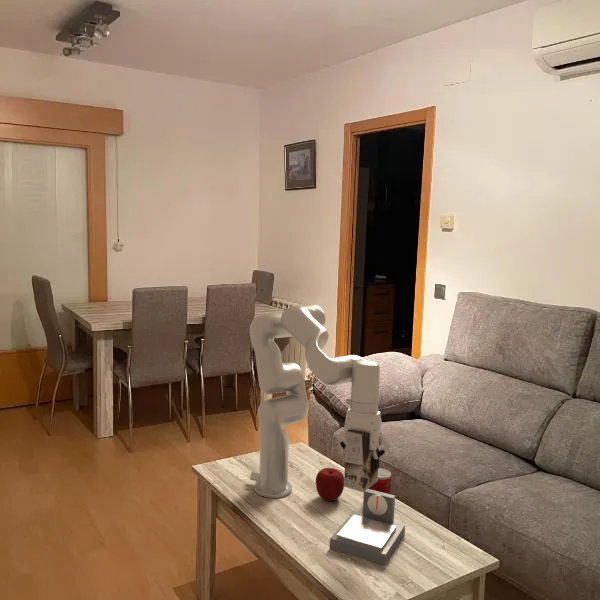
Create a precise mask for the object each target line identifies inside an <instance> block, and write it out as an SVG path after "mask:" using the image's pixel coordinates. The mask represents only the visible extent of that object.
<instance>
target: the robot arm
mask: <svg viewBox="0 0 600 600" xmlns="http://www.w3.org/2000/svg"><path fill="white" fill-rule="evenodd" d="M325 325H326V314H325V312H324V310H323V309H322V308H321V307H320V306H318V305H317V304H301V305H300V304H299V305H291V306H289V307H287V308H286V309H285V310H283V311H276V312H275V311H274V312H265V313H262V314H259V315H257V316H255V317H254V318H253V319H252V321H251V323H250V326H249V337H250V342H251V344H252V348H253V350H254V354H255V362H256V363H255V364H256V371H257V377H258V378H257V379H258V384H259V388H260V391H261V392H262V393H263V394H266V395H273V394H274V395H275V394H280V393H286V395H283V396H281V395H280V396H278V397H277V396H276V397H272V398H269V399H266V400H263V401H262V402H261V403H260V404H259V406H258V408H257V416H258V417H257V419H258V423H259V433H260V435H259V436H260V437H259V441H260V443H259V472H257V471H251V472H250V475H249V476H250V477H249V480H251V481H255V484H254V491H255V493H256V494H257V495H259V496H261V497H263V496H264V498H269V499H276V498H277V499H278V498H283V497H286V496H288V495H290V494H291V493H292V491H293V486H292V484H291V483H290V482H289V478H288V477H289V449H290V448H289V447H290V446H289V445H290V444H289V443H290V440H289V436H288V434H287V432H286V431H285V429H284V427H285V426H288V425H291V424H296V423H300V422H302V421H303V420H305V419H306V418H307V417H308V412H309V405H308V404H309V403H308V397H307V389H306V380H305V375H304V373H303V370H302V368H301V367H300V366H299V365H298V364H297V363H295V362H283V361H282V352H281V349H280V347H279V346H278V344H277V343H276V341H275V340H274V339H280V338H281V339H282V338H289V337H291V338H292V337H293V338H294V339H295V340H296V342H298V343H299V344H300V345H301V346H302V347H303V348H304V349H305V351H304V357H305V358H304V359H305V361H306V365H307V367H308V368H309V369H308V370H309V371H310V372H311V373H312V374H313V375H314V376H315V377H316V378H317V379H318V380H319V381H320V382H321V383H323V384H325V385H327V386H337V385H340V384H346V383H351V385H350V386H351V387H350V388H351V389H350V390H351V391H350V398H347V399H346V401H345V402H346V404H348V405H349V408H348V409H347V411H346V415H345V421H344V425H343V426H344V427H343V430H342V431H340V433H339V434H337V435H336V436H335V439H337V441H338V443H339V444H340V447H342V449H343V450H344V451H343V452H344V453H345V451H346V431H347V430H354V431H362V432H366V433H370V443H369V450H372V451H371V452H372V454H373V458H372V465H371V472H372V473H374V472H375V471H376V470H378V469H379V468H380V457H382V456H383V455H385V454H386V452H388V451H389V450H390V449H391V448H392V445H391V444H390V442H389V441H388V440H387V439H386V438H385V437H384V436H383V423H382V415H381V411H379V394H380V393H379V392H380V376H381V375H380V373H381V372H380V371H381V368H380V364H378V362H376V361H373V360H367V359H364V358H363V357H362V356H359V355H357V354H349V355H340V356H335V357H328V356H327V355H326V354H325V353H324V352H323V351H322V350H323V348H324V347H325V346H326V344H327V343H328V341H329V332H328V330H327V329H326V328H325V327H324V326H325ZM378 446H379V447H378ZM380 446H383V448H382V449H380Z"/></svg>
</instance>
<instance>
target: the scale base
mask: <svg viewBox="0 0 600 600" xmlns="http://www.w3.org/2000/svg"><path fill="white" fill-rule="evenodd" d="M362 499H363V502H362V512H360V511H357V510H353V511H352V512H351V514H350V515H349V516H348V517H347V518H346V519H345V521H344V522H343V523H342V524H341V525H340V526H339V528H338V529H336V531H335V532H334V533H333V534H332V535H331V537H330V538H329V549H331V550H334V551H337V552H340V553H344V554H347V555H350V556H353V557H357V558H359V559H363V560H366V561H370V562H372V563H377V564H379V565H382V566H386V564H387V563H388V561H389V560H390V558H391V557H392V555H393V554H394V551H396V548H397V547H398V546H399V544H400V542H401V540H402V539H403V537H404V536H405V534H406V524H404V523H401V522H398V521H395V505H396V495H394V494H391V493H390V494H387V493H383V492H379V491H375V490H371V489H367V490H366V491H364V492H363V498H362ZM353 515H358V516H361V517H365V518H369V519H372V520H376V521H380V522H384V523H387V524H391V525H395V526H396V530H395V532H394V533H393V535H392V536H391V538H390V539H389V541H388V542H387V544H386V545H385V547H384V548H383V550H382V551H379V550H375V549H372V548H369V547H365V546H362V545H358V544H355V543H352V542H348V541H345V540H341V539H338V538H337V534H338V533H339V531H340V530H341V529H342V528H343V527H344V526H345V524H346V523H347V522H348V521H349V520H350V519H351V517H352V516H353Z"/></svg>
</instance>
